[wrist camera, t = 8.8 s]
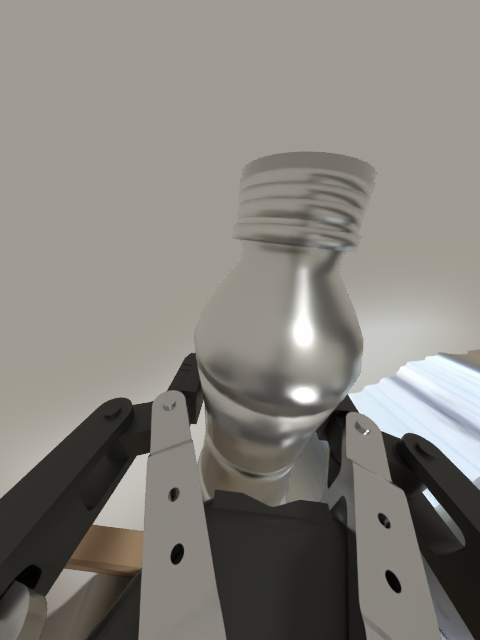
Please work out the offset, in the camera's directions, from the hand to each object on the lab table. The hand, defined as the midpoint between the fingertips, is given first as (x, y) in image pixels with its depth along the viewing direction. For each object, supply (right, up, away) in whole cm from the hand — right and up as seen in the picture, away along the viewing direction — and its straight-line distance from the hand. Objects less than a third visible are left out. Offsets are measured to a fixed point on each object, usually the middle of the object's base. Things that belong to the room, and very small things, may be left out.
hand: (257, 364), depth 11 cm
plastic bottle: (-1, -11, +3) cm, 11 cm away
